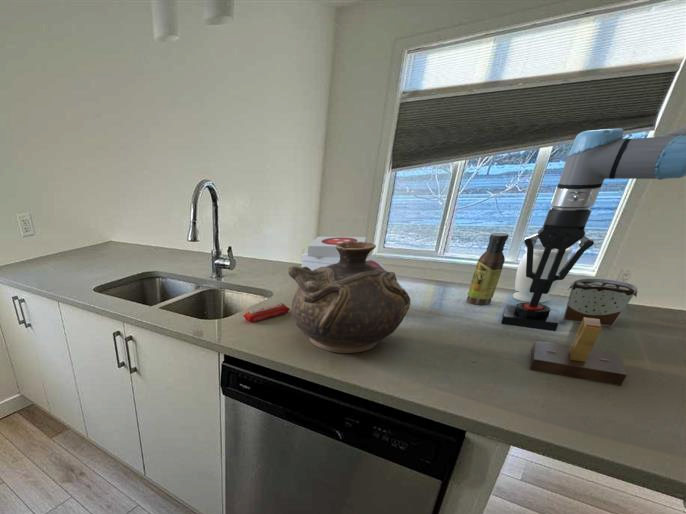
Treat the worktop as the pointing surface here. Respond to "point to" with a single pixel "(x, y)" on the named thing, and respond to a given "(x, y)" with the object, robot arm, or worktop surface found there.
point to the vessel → (348, 301)
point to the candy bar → (266, 312)
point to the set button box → (530, 317)
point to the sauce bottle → (488, 271)
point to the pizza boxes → (332, 253)
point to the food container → (598, 300)
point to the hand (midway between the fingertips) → (533, 304)
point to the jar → (524, 282)
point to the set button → (533, 307)
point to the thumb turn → (585, 339)
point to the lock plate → (578, 363)
